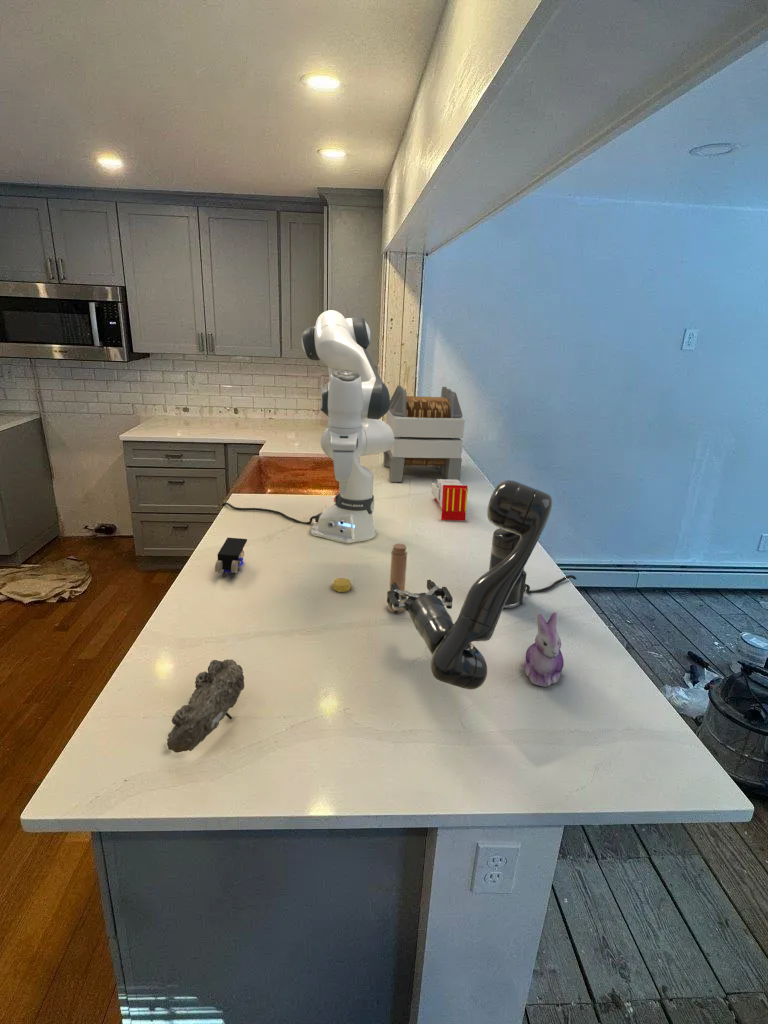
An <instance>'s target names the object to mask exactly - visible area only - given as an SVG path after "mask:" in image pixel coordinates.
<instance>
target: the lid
mask: <svg viewBox="0 0 768 1024" xmlns="http://www.w3.org/2000/svg"><path fill="white" fill-rule="evenodd" d="M351 585H352V584H351V580H350V579H349V578H346V577H345V578H344V577H338V578H335V579H334V580H333V583H332V588H333V590H334V591H335V592H338V593H346V592H348V591H350V590H351V588H352V587H351Z"/></svg>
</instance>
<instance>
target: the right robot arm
mask: <svg viewBox="0 0 768 1024" xmlns="http://www.w3.org/2000/svg"><path fill="white" fill-rule="evenodd" d="M552 507H553V498H552V496H551V494H549V493H547V492H545V491H543V490H540V489H537V488H534V487H532V486H529V485H525V484H523V483H522V482H518V481H515V480H513V479H512V480H511V479H504V480H503V481H501V482H500V483H499V484H498V485H496V487H494V489H493V492H492V494H491V495H490V497H489V501H488V505H487V510H486V514H487V520H488V522H489V523H490V524H491V525H493V526H495V527H497V529H496V530H494V531H493V534H492V540H491V548H490V557H489V558H490V559H489V566H488V570H487V571H486V572H485V573H484V574H483V575H481V576H480V577H479V578H478V579H476V580H475V582H474V583H473V584H472V585H471V587H470V589H468V592H467V594H466V597H465V600H464V602H463V604H462V606H461V609H460V612H459V615H458V617H457V619H456V621H455V622H454V621H453V618H452V617H451V614H450V613H449V612H448V610H447V609H449V610H450V609H453V600H454V598H453V596H452V594H451V592H450V590H449V589H448V587H446V586H441V587H439V586H438V585H436V583H435V582H434V581H432V580H431V579H427V580H426V588H427V592H419V593H413V592H410V591H408V590H405V591H404V592H403V591H401V590H399V587H398V585H397V583H396V582H393V584H392V585H391V591H389V590H388V591H387V592H386V594H387V595H386V603H387V604H388V607H389V606H390V608H391V610H392V611H393V612H392V613H393V614H396V615H397V614H400V613H399V610H403V609H404V610H405V611H406V612H407V613H408V614H409V618H410V619H411V621H412V623H413V625H414V628H415V630H416V631H417V633H418V634H419V636H420V637H421V638H422V640H423V641H424V643H425V645H426V647H427V649H428V651H429V652H430V654H431V655H432V656H431V659H430V670H431V671H430V672H431V674H432V676H433V678H434V679H436V680H437V681H439V682H441V683H444V684H448V685H451V686H454V687H458V688H460V689H465V690H471V691H472V690H477V689H479V688H480V687H482V686H483V685H484V683H485V682H486V680H487V676H488V665H487V662H486V659H485V657H484V655H483V653H482V652H481V651H480V650H479V649H478V648H477V647H476V646H475V645H474V644H472V643H474V642H488V641H489V640H491V639H492V637H493V635H494V633H495V630H496V628H497V625H498V623H499V620H500V617H501V615H502V612H503V610H504V609H514V608H516V607H518V606H520V605H523V602H524V594H525V593H526V594H527V593H528V594H536V593H537V594H538V593H543V592H546V591H549V590H552V589H553V588H554V587H556V586H557V585H558V584H561V583H562V582H564V581H566V580H568V579H573V580H577V577H576V575H574V574H569V575H568V574H567V575H566V576H564V577H562V578H560V579H558V580H556V581H554V582H553V583H552V584H551V585H549V586H546V587H544V588H540V589H535V590H531V586H530V585H529V584H528V583H526V580H527V571H525V566H526V565H527V563H528V561H529V559H530V557H531V555H532V553H533V551H534V549H535V548H536V545H537V544H538V541H539V539H540V538H541V535H542V534H543V532H544V530H545V528H546V525H547V523H548V520H549V517H550V515H551V511H552ZM565 577H566V578H567V579H566V578H565ZM399 595H401V598H399ZM439 597H440V598H439ZM404 610H403V611H404Z"/></svg>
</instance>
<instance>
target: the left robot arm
mask: <svg viewBox="0 0 768 1024" xmlns="http://www.w3.org/2000/svg"><path fill="white" fill-rule="evenodd" d="M370 341H371V329H370V326H369V325H368V323H367V322H366V320H365V318H364V317H362V316H351V317H346V318H345V316H344V315H343V314H342V313H341V312H339V311H337V310H333V309H329V310H324V311H323V312H321V314H320V315H319V316H317V319H316V321H315V326H313V325H312V326H309V327H307V328H305V329H304V331H303V332H302V333H301V348H302V350H303V352H304V354H305V355H306V356H307V358H308V359H309V360H311V361H320V362H321V363H322V364H323V365H325V366H327V371H328V372H327V373H328V382H326V383H324V385H323V386H321V388H320V389H319V391H320V407H319V410H320V411H321V412H322V413H323V414H325V416H327V417H328V421H327V427H326V428H325V429H324V430H323V432H322V434H321V437H320V447H321V450H322V451H323V453H324V454H325V455H326V456H327V457H328V458H330V459H331V460H332V463H333V473H334V474H333V475H334V479H335V481H336V482H338V488H339V490H338V492H337V494H336V495H335V496H334V497H333V502H334V504H333V505H331V506H329V507H328V508H326V509H325V510H323V512H319V513H318V514H316V515H313V516H310V518H309V521H301V520H298V519H297V518H294V517H290V516H288V515H286V514H285V513H283V512H281V511H279V510H273V509H269V508H261V507H238V506H237V507H236V506H234V505H233V504H231V503H229V502H227V501H226V502H223V503H222V504H221V506H222V507H225V506H227V507H229V508H230V509H233V510H236V511H259V512H269V513H273V514H277V515H279V516H282V517H284V518H285V519H287V520H289V521H292V522H295V523H297V524H302V525H311V524H312V523H313V520H314V521H315V524H314V525H313V526H312V528H311V530H310V533H311V536H315V537H319V538H323V539H326V540H330V541H336V542H339V543H343V544H352V543H357V542H365V541H368V540H372V539H373V538H375V537H376V535H377V532H376V528H375V523H374V509H375V496H374V474H373V472H372V471H371V469H369V468H368V467H366V466H364V465H362V464H361V461H360V458H361V457H364V456H376V455H380V454H384V452H386V451H388V450H390V449H391V447H392V445H393V442H394V434H393V431H392V429H391V427H390V426H389V425H388V424H387V423H386V421H383V420H382V419H381V418H383V417H384V416H386V413H387V412H388V410H389V407H390V400H391V395H390V391H389V389H388V386H387V385H386V384H385V382H384V381H383V380H382V378H381V376H380V374H379V372H378V370H377V368H376V366H375V364H374V362H373V360H372V358H371V356H370V354H369V352H368V347H369V345H370V344H371V343H370Z"/></svg>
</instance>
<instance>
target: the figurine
mask: <svg viewBox="0 0 768 1024" xmlns="http://www.w3.org/2000/svg"><path fill="white" fill-rule="evenodd" d="M536 623H537V634H536V636H535V637H534V638H535V640H534V643H532V644H530V645H529V647H528V648H527V650H526V652H525V661H524V674H525V675H526V676H527V678H528V679H529V680H530V682H531V684H532V685H536V686H540V687H548V688H549V687H550V686H551V685H554V684H556V683H557V682H558V681H559V679H560V677H561V673H562V671H563V669H564V664H565V663H564V656H563V654H562V651H561V648H562V639H561V637H560V635H559V632H558V629H557V624H558V613H557V612H555V611H554V612H552V613H551V614H550V616H549V619H548V621H546V619H545V617H544V616H543V615H542V614H541V613H537V614H536Z"/></svg>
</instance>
